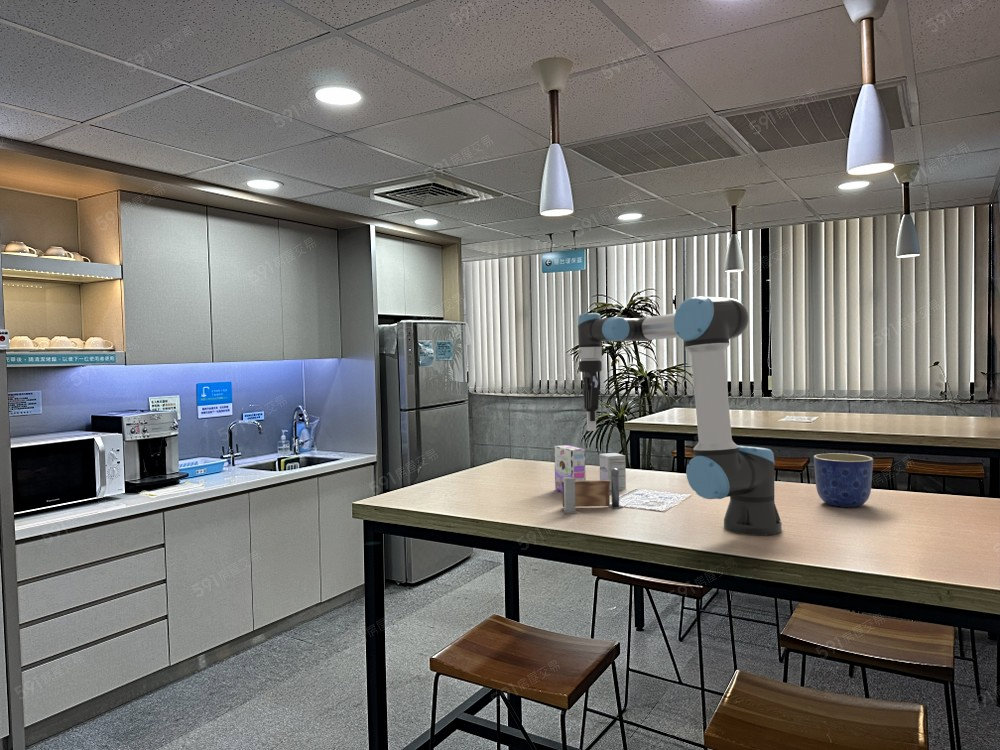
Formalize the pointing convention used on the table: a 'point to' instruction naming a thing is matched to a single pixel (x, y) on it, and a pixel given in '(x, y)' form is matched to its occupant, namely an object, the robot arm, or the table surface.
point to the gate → (591, 493)
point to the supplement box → (611, 462)
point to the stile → (569, 495)
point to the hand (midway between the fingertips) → (591, 430)
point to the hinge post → (615, 489)
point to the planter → (843, 478)
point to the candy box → (568, 464)
